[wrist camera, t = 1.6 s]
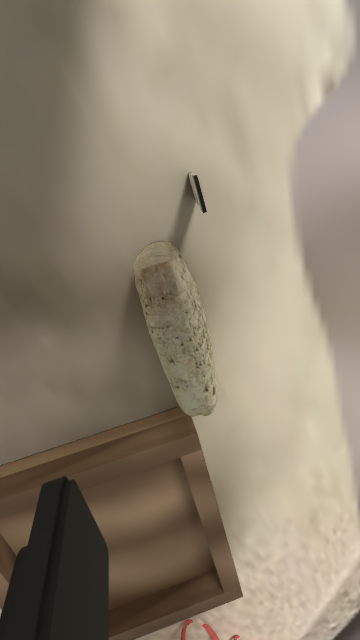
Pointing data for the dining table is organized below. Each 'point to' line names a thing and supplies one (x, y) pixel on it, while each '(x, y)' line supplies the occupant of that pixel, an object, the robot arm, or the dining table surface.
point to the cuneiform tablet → (178, 322)
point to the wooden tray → (135, 519)
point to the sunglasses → (211, 632)
